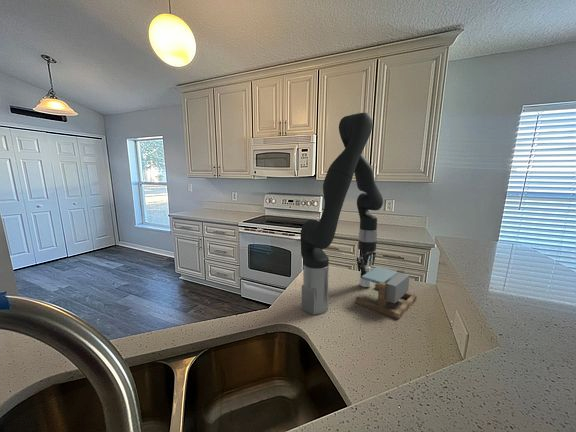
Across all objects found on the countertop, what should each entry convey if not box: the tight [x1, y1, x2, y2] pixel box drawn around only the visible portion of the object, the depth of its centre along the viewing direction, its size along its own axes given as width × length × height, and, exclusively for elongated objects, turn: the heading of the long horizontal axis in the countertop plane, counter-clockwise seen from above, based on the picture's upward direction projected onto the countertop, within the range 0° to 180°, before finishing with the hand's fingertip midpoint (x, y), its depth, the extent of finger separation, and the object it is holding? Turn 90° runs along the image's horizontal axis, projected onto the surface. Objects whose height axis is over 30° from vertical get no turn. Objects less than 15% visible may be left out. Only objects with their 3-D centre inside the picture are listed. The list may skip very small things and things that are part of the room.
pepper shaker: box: [358, 261, 373, 288], centre depth 109 cm, size 5×5×11 cm
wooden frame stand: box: [355, 268, 418, 320], centre depth 96 cm, size 19×16×11 cm
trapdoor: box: [362, 266, 410, 304], centre depth 96 cm, size 14×13×7 cm
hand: (365, 276), depth 109 cm, fingers closed on pepper shaker, 3 cm apart
